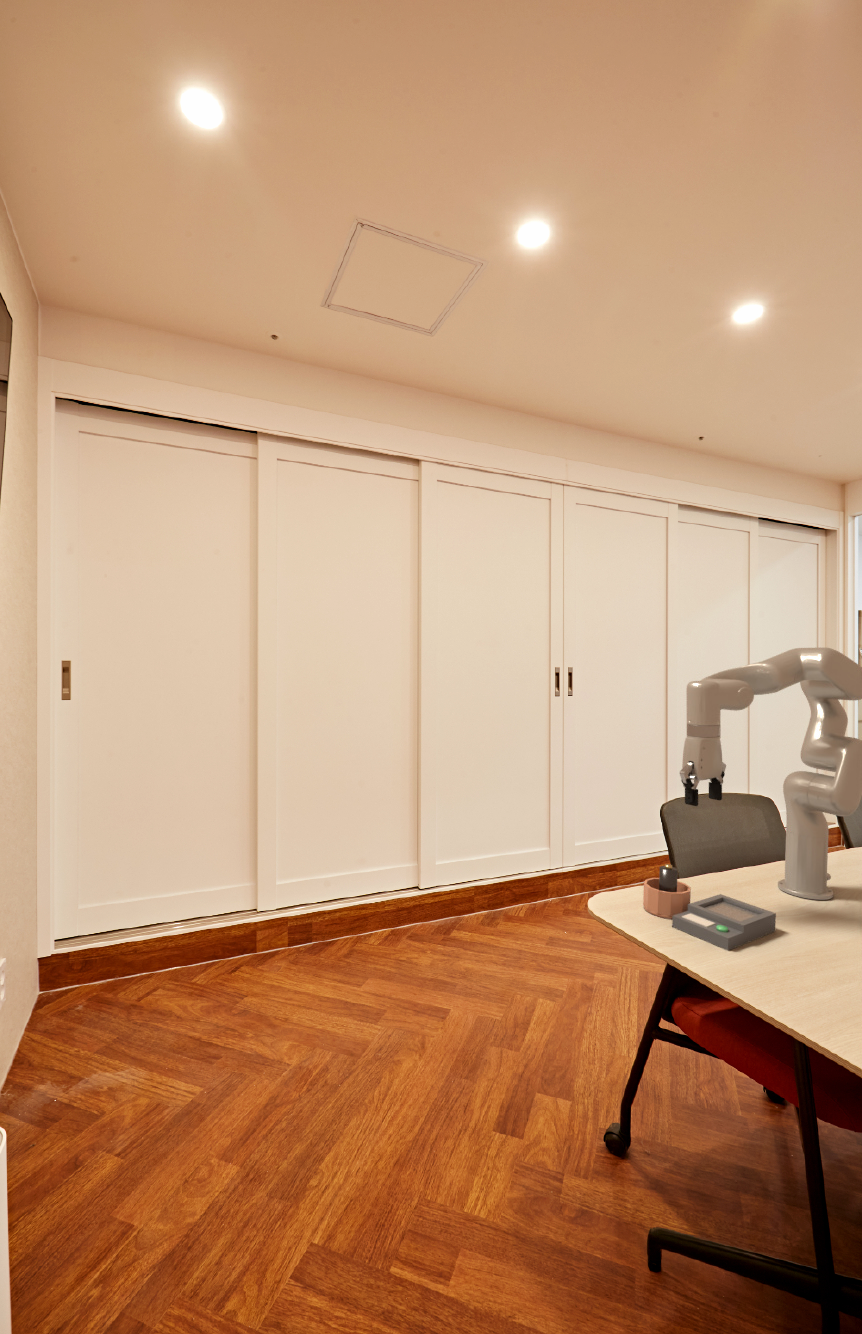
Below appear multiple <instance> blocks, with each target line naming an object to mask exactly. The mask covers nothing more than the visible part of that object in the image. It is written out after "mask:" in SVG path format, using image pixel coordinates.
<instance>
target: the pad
mask: <svg viewBox="0 0 862 1334" xmlns="http://www.w3.org/2000/svg"><path fill="white" fill-rule="evenodd" d="M705 908H706V909H709V910H711V911H714V912H717V913H719V914H722V915H725V916H727V917H730V918H733V919H735V920H738V921H743V920H746V919H749V918H751V917H754V916H757V915H759V914H757V913H754V912H751V911H748V910H746V909H743V908H740V907H737V906H734V905H731V904H729V903H726V902H721V903H718V904H714V905H711V906H708V907H705Z"/></svg>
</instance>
